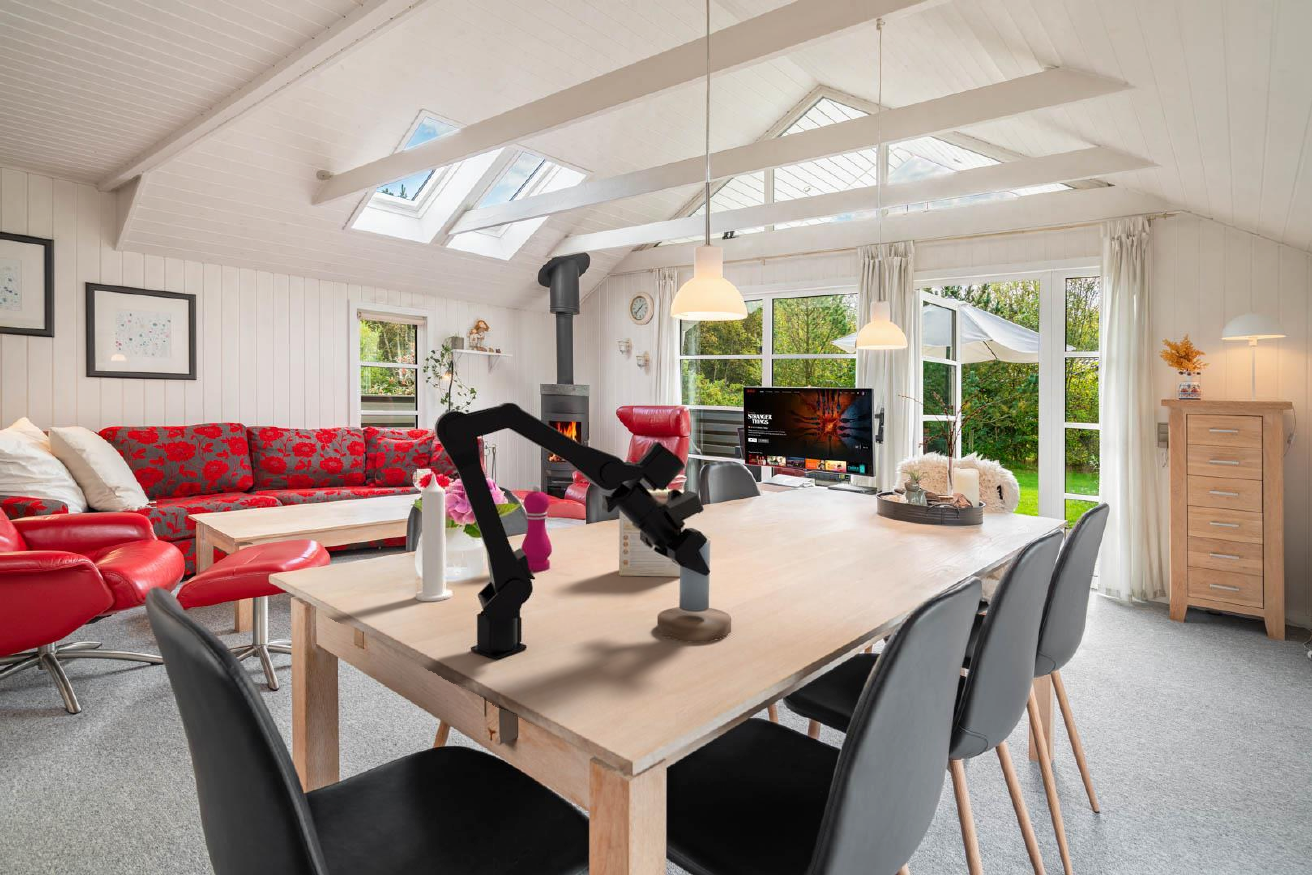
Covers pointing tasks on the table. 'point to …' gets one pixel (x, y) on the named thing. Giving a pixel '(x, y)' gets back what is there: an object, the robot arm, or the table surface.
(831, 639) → the table surface
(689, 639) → the trivet
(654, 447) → the robot arm
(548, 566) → the pepper mill
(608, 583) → the table surface
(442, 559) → the candle
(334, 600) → the table surface
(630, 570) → the coffeecake box
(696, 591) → the jar
